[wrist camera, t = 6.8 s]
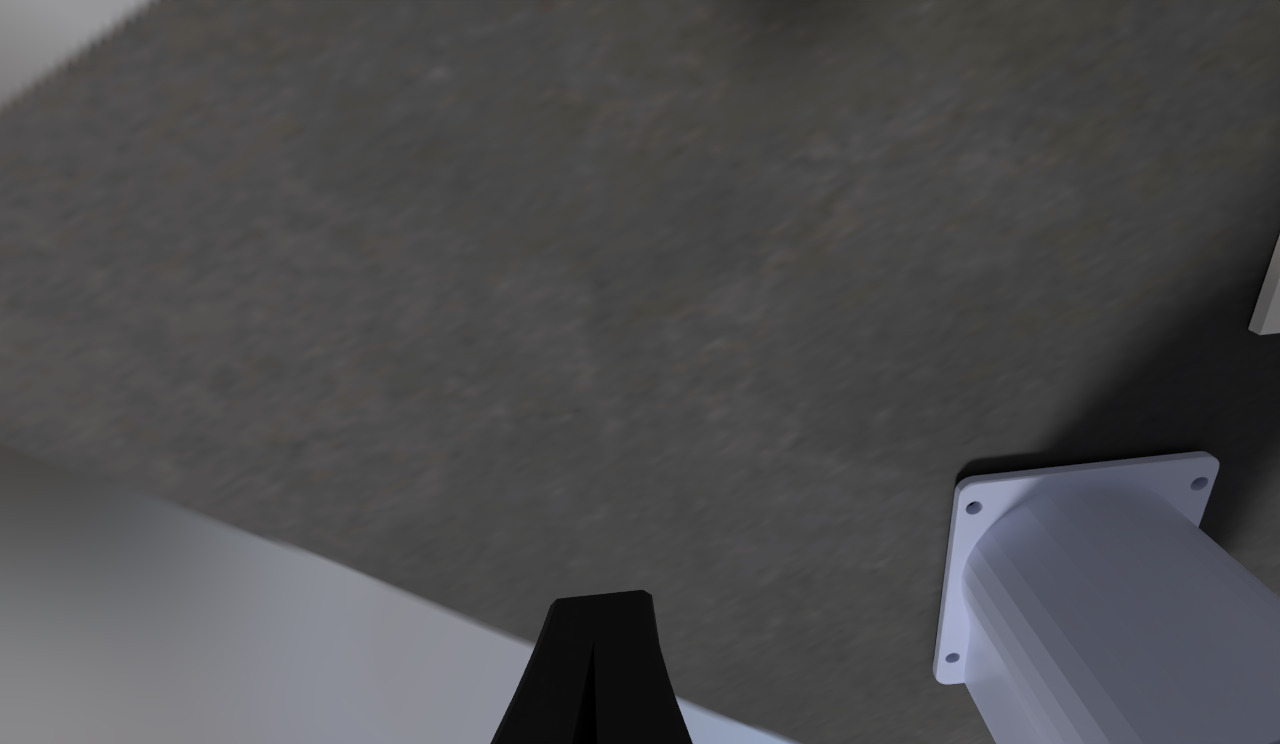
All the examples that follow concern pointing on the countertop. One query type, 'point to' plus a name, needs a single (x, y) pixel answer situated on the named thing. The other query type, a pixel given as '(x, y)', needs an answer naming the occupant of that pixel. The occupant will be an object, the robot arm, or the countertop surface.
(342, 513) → the countertop surface
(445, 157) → the countertop surface
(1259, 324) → the mat
